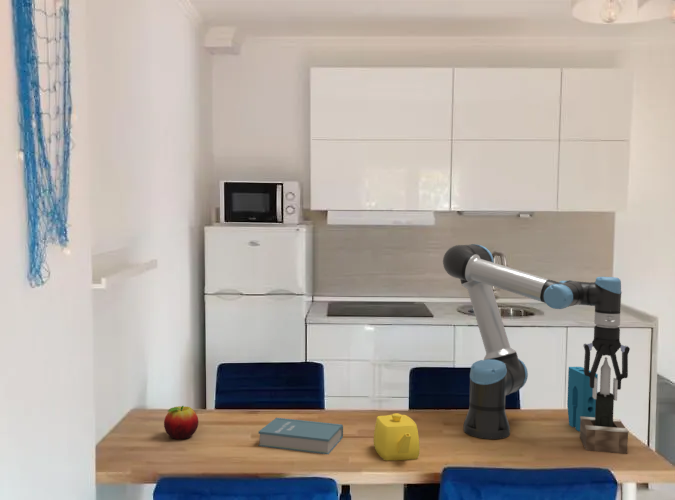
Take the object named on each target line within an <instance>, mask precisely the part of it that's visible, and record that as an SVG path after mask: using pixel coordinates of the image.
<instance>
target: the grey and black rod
mask: <svg viewBox="0 0 675 500" xmlns="http://www.w3.org/2000/svg"><path fill="white" fill-rule="evenodd" d="M611 370H612V367H610V365H609V362H608V357H606V356H605V357H604V362H603V364H602V365H601V366H600V376H599V377H600V379H599V380H600V381H599V384H600V385H599V391H597V397H596V408H595V426H603V427H613V419H614V403H615V400H614V397H613V392H612V393H611Z"/></svg>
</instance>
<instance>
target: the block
mask: <svg viewBox="0 0 675 500" xmlns="http://www.w3.org/2000/svg"><path fill="white" fill-rule="evenodd" d="M567 371H568V375H567V401H566V402H567V403H566V404H567V407H566V408H567V416H568V425H569V426H570V427H571V428H574V429H575V430H576V431H577V432H579V433H580V419H581V418H580V416H582V417H595V408H596V399H594V398H593V388H591V387H590V385H589V384H590V377H589V376H586V375H585V374H584V366H568V370H567ZM590 371H591V369H589V372H590ZM598 375H599V374H598V373H596V375H595V377H596V378H597V383H598V379H599V377H598Z"/></svg>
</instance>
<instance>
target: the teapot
mask: <svg viewBox="0 0 675 500" xmlns="http://www.w3.org/2000/svg"><path fill="white" fill-rule="evenodd" d="M418 431H419V430H418V425H417V424H416V422H415V421H414V420H413V419H412V418H411V417H409V415H406V414H401V413H397V412H396V413H392V414H388V415H387V414H386V415H379V416H376V420H375V425H374V432H373V446H374V449H375V452H376V453H377V455H378V456H379V457H381V459H382V460H384V461H386V462H391V461H393V462H394V461H409V460H410V461H412V460H417V459H419V455H420V437H419V432H418Z"/></svg>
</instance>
